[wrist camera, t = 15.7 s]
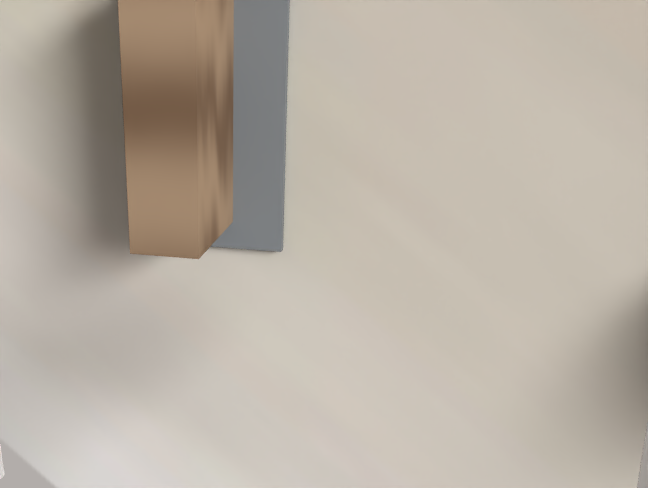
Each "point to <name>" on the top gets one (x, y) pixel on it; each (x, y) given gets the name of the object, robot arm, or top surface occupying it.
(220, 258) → the top surface
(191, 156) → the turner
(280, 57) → the tool mat
